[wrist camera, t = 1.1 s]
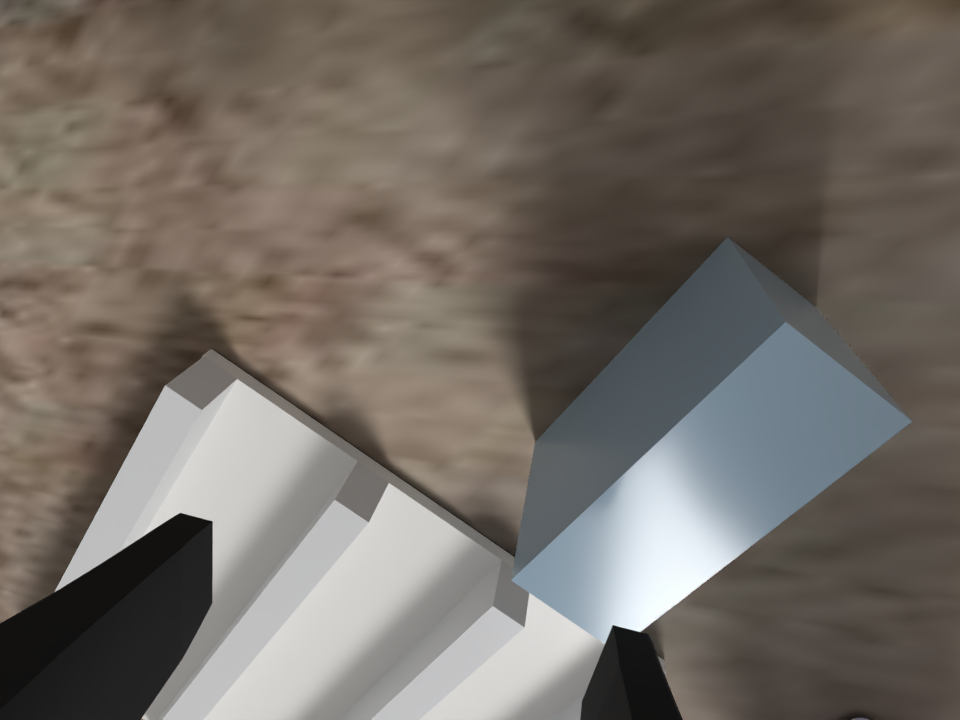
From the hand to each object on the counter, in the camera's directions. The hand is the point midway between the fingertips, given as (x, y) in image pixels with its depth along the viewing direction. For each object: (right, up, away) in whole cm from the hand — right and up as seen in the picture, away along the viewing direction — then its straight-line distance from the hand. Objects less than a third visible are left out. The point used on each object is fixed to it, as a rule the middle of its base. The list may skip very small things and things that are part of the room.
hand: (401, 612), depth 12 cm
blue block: (+7, +4, +7) cm, 10 cm away
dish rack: (-5, -7, +14) cm, 16 cm away
